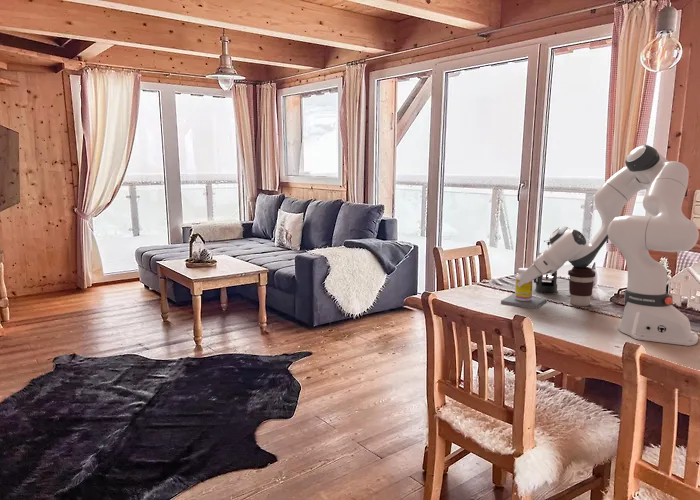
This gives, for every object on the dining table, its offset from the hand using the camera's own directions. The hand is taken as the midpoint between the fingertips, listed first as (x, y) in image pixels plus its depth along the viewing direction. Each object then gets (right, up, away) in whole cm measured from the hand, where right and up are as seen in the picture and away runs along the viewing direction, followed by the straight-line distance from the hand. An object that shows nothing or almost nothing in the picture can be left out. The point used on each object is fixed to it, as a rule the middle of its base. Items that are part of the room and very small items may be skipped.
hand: (522, 283), depth 205 cm
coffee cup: (+22, -9, -3) cm, 24 cm away
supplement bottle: (0, -7, +1) cm, 7 cm away
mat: (+1, -8, +1) cm, 8 cm away
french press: (+16, -5, +18) cm, 25 cm away
